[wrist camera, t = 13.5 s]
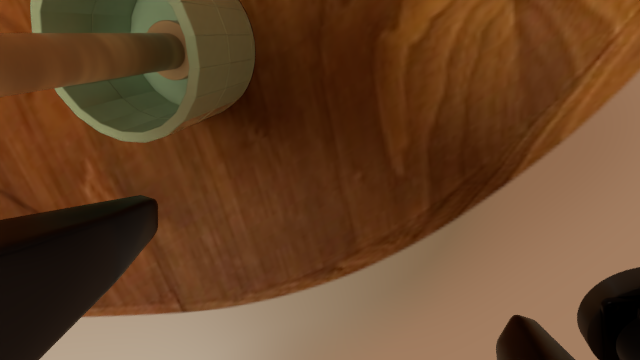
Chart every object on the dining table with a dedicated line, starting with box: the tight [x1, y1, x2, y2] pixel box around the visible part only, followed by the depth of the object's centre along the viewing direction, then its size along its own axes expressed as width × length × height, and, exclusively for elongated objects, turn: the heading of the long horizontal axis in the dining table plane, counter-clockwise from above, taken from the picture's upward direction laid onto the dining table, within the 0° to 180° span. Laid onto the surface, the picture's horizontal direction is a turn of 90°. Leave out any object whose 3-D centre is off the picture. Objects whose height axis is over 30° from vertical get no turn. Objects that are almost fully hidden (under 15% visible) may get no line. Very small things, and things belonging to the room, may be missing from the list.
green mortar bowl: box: [30, 0, 255, 143], centre depth 17 cm, size 8×8×6 cm
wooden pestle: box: [0, 20, 189, 97], centre depth 14 cm, size 3×3×12 cm
